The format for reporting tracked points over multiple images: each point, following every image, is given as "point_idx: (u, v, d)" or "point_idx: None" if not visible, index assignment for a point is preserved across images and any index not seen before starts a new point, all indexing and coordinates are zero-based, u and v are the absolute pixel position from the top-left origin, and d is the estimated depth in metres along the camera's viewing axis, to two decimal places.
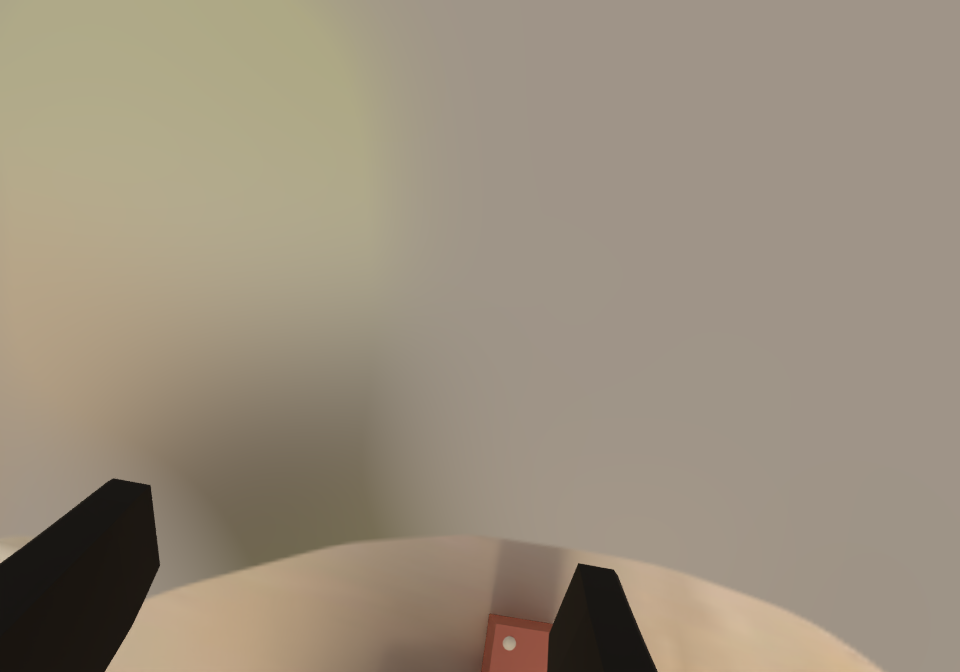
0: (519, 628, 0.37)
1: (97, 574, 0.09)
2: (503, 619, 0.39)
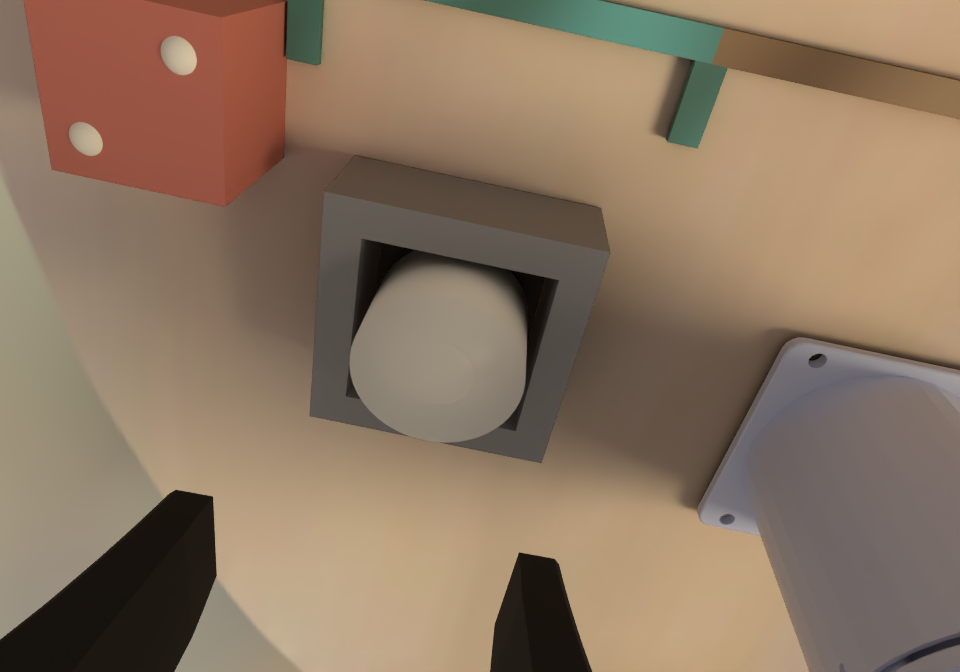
0: (44, 109, 0.14)
1: (167, 586, 0.09)
2: None
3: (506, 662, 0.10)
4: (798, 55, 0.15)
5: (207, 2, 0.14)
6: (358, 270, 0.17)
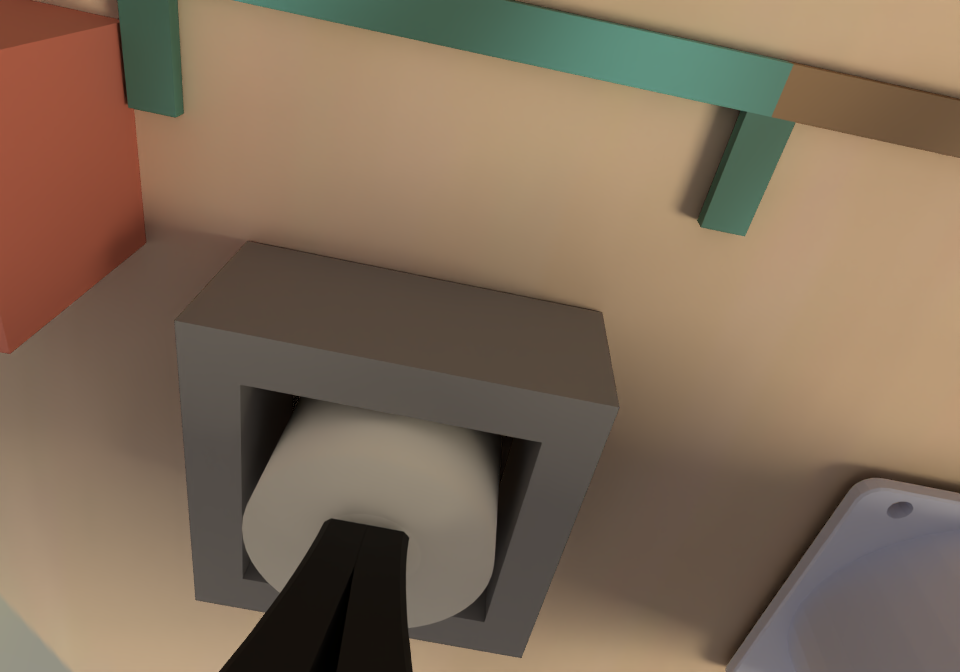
0: None
1: (340, 617, 0.09)
2: None
3: None
4: (905, 104, 0.10)
5: None
6: (242, 425, 0.11)
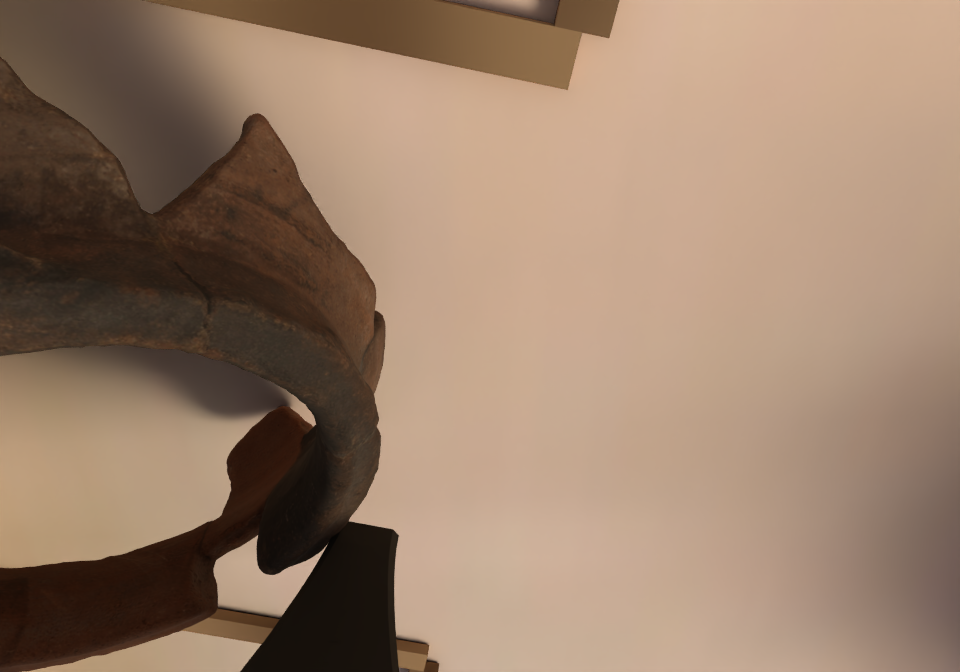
0: None
1: None
2: None
3: None
4: None
5: None
6: None
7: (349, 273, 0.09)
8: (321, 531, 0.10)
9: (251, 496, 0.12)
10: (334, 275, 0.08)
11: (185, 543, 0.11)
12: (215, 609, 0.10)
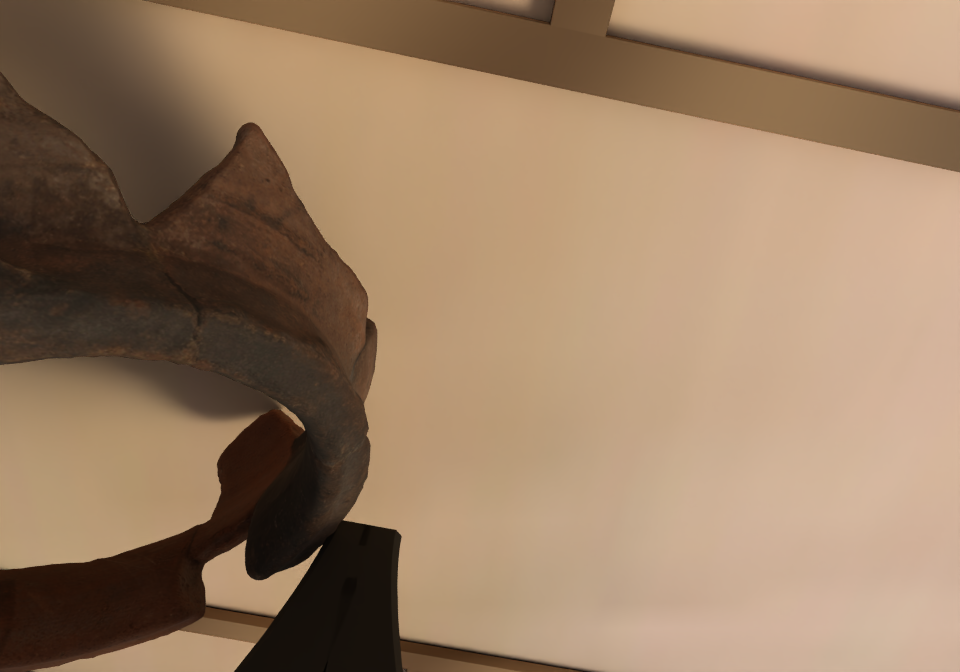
0: None
1: None
2: None
3: None
4: None
5: None
6: None
7: (341, 282, 0.09)
8: (309, 538, 0.10)
9: (241, 500, 0.12)
10: (326, 284, 0.08)
11: (173, 547, 0.11)
12: (202, 613, 0.10)
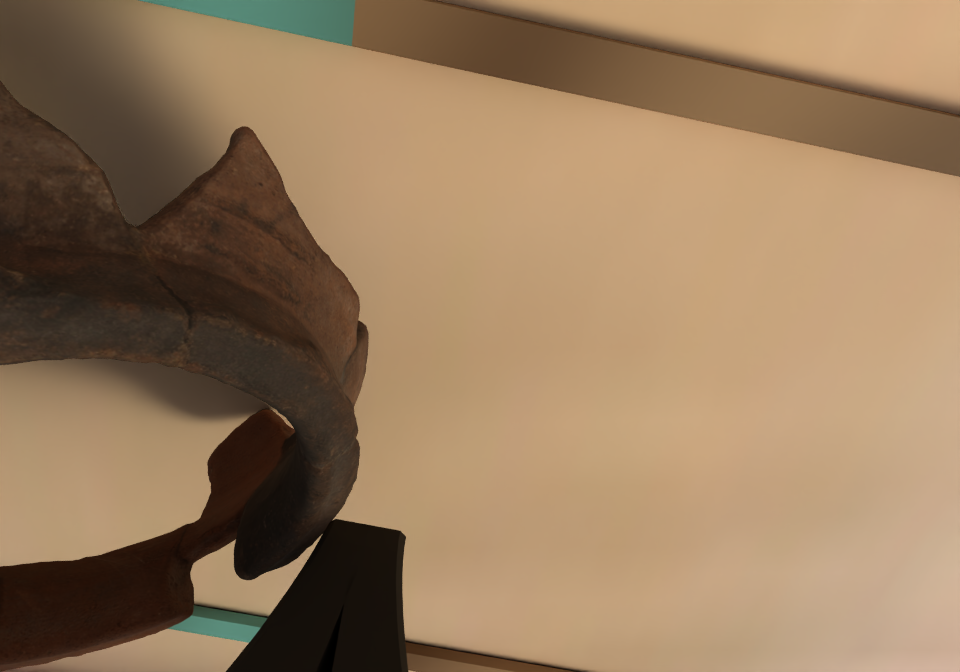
0: None
1: None
2: None
3: None
4: None
5: None
6: None
7: (333, 286, 0.09)
8: (298, 539, 0.10)
9: (230, 500, 0.12)
10: (317, 288, 0.08)
11: (163, 545, 0.11)
12: (190, 613, 0.10)
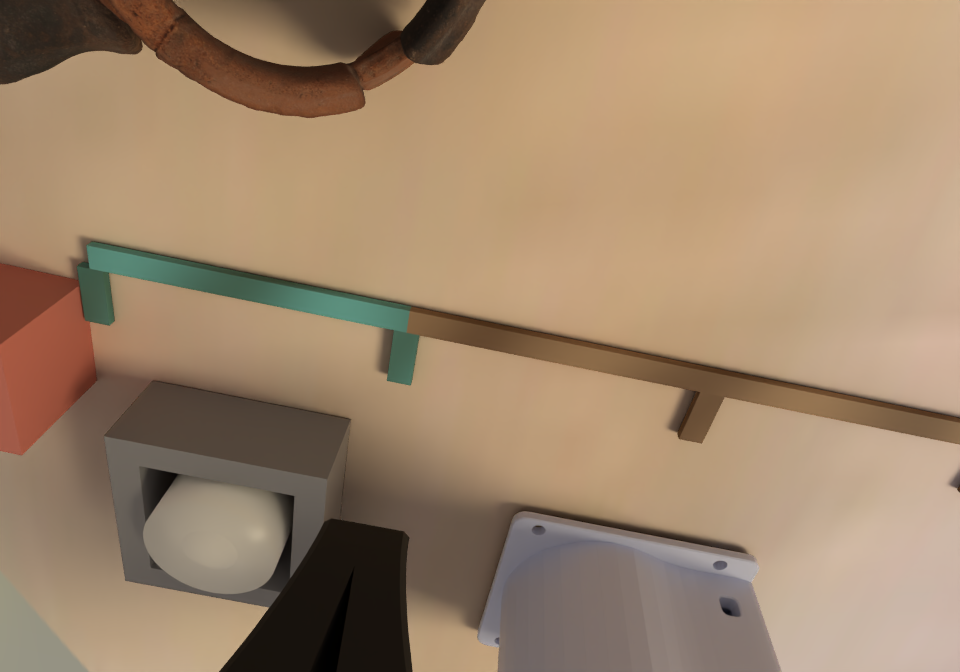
0: None
1: (340, 617, 0.09)
2: None
3: None
4: (469, 329, 0.20)
5: (0, 315, 0.19)
6: (142, 485, 0.21)
7: None
8: (458, 9, 0.12)
9: None
10: None
11: None
12: (364, 101, 0.13)
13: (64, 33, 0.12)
